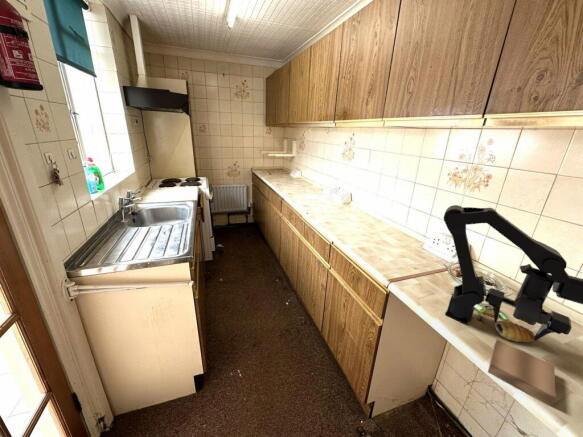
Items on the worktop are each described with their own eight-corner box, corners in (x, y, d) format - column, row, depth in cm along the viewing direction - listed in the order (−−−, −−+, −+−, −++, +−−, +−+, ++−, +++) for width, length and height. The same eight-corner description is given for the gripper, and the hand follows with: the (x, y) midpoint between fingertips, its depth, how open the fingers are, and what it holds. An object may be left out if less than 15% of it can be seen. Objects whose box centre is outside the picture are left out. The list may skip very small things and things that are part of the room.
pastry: (525, 330, 80) (529, 321, 78) (539, 346, 73) (543, 337, 72) (491, 325, 82) (494, 315, 81) (502, 340, 76) (505, 330, 75)
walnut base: (487, 372, 65) (491, 363, 64) (493, 346, 73) (496, 339, 72) (550, 406, 57) (555, 397, 56) (549, 373, 66) (554, 365, 65)
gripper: (491, 285, 72) (474, 326, 78) (585, 320, 60) (556, 366, 66) (496, 271, 80) (480, 310, 85) (580, 300, 68) (555, 343, 73)
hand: (514, 330), depth 77 cm, fingers open, 9 cm apart
